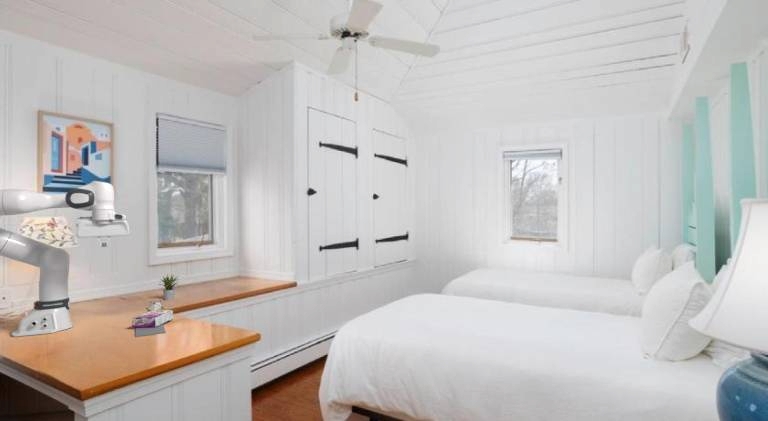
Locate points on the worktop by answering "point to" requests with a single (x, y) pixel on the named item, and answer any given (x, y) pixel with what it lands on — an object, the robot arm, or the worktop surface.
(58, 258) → the robot arm
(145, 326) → the candy bar box
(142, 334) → the mat
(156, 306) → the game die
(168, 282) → the house plant
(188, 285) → the worktop surface
